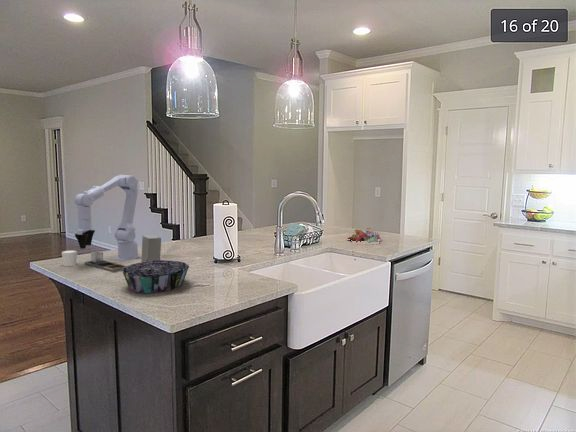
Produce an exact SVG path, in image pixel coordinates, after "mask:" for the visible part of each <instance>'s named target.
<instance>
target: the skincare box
mask: <svg viewBox="0 0 576 432" xmlns="http://www.w3.org/2000/svg"><path fill="white" fill-rule="evenodd" d="M141 241H142V242H141V244H142V245H141V262H145V261H153V260H161V247H162V237H160V236H158V235H156V234H143V235H142V240H141Z"/></svg>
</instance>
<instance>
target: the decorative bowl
mask: <svg viewBox="0 0 576 432" xmlns="http://www.w3.org/2000/svg"><path fill="white" fill-rule="evenodd" d="M125 266H126V267H124V268H123V269H122V270H121V272H122V274H123V276H124V278H125V281H126V284H127V286H128V288H129V289H130V291H131V292H135V293H136V294H142V293H143V294H146V295H147V294H156V293H163V292H166V291H167V292H168V291H174V290H177V289H178V288H179V287H181V286H182V285H183V284H184V282H185V278H186V276H187V273H188V270H189V268H190V266H189V264H187V263H186V262H183V261H179V260H178V261H177V260H168V259H160V260H153V261H145V262H134V263H131V264H129V265H125Z"/></svg>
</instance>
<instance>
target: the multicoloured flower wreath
mask: <svg viewBox="0 0 576 432" xmlns="http://www.w3.org/2000/svg"><path fill="white" fill-rule="evenodd" d="M354 232H355V233H353V234H352V235H351V236H348V238H347V239H350V240H352V241H356V243H357V242H358V241H360V242H361V241H367V242H368V243H371V242H378V239H380V240H382V238H381V237H380V234H379V232H378V231H374V230H373V229H371V228H370V227H366V228H365V230H361V229H357V228H356V229H355V230H354Z"/></svg>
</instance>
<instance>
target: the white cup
mask: <svg viewBox="0 0 576 432" xmlns="http://www.w3.org/2000/svg"><path fill="white" fill-rule="evenodd" d="M61 258H62V265H63V266H62V267H74V266H77V261H78V250H73V249H71V250H64V251H61Z"/></svg>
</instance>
